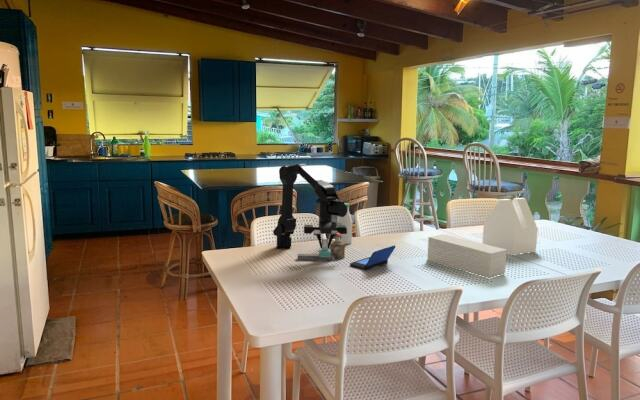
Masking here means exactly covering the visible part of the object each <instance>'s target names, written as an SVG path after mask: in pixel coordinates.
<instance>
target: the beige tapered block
mask: <svg viewBox="0 0 640 400" xmlns="http://www.w3.org/2000/svg"><path fill="white" fill-rule="evenodd" d="M482 228H483V232H482V244H486V245H490V246H494V247H498V248H502V249H506V250H507V253H509V254H511V255H510V256H512V255H514V254H520V253H527V254H529V253H528V252H534V253H536V252H537V241H538V240H537V239H538V232H539V231H538V230H539V229H538V226H537V224H536V221H535V218H534V216H533V213H532V211H531V208H530V206H529V203H528V201H527V198H525V197H514V198H513V199H511V198H501V199H498V201H497V202H496V204H495V205H494V207H493V209H492V210H491V211H490V214H488V216H487V218H486V220H485V221H484V222H483V227H482ZM509 254H508V255H509ZM520 255H521V254H520ZM514 256H515V255H514Z"/></svg>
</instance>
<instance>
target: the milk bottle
mask: <svg viewBox="0 0 640 400" xmlns="http://www.w3.org/2000/svg"><path fill="white" fill-rule="evenodd" d="M344 204H345V205H346V206H347V209H348V210H347V214H346V215H345V216H344V217H339V216H336V217H337V218H336V226H337V225H345V226H346V228H347V234H341V236H340V240H343V241H344V244H345V245H349V244H351V243H352V242H353V241H352V239H353V238H352V236H353V234H352V233H353V219H352V215H351V213H350V203H348V202H344ZM337 233H338V231H337Z"/></svg>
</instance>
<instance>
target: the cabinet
mask: <svg viewBox="0 0 640 400" xmlns="http://www.w3.org/2000/svg"><path fill="white" fill-rule="evenodd" d="M345 247H346V244H344V241H343V240H340V243H335V239H332V241H331V244H330V247H329V248H330V250H331V254H334V259H335V258H336V259H337V258H339V259H340V258H341V259H342V258H345V253H346V252H345Z"/></svg>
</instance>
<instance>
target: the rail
mask: <svg viewBox="0 0 640 400" xmlns="http://www.w3.org/2000/svg"><path fill="white" fill-rule="evenodd" d="M297 261H335V258H334V254H331V257H319V253H297Z"/></svg>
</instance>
